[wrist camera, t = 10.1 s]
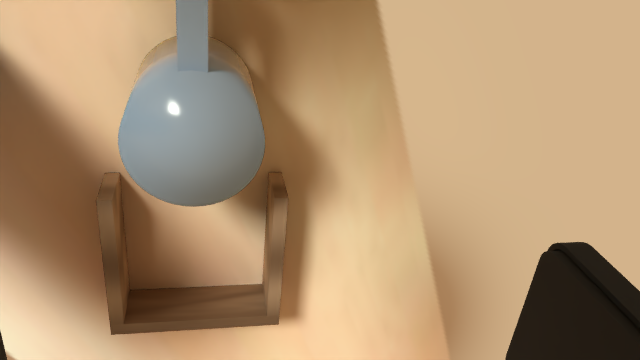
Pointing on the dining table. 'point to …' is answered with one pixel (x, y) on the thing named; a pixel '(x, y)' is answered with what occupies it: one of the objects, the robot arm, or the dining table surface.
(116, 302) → the caddy
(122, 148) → the grey-blue mug
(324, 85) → the dining table surface
